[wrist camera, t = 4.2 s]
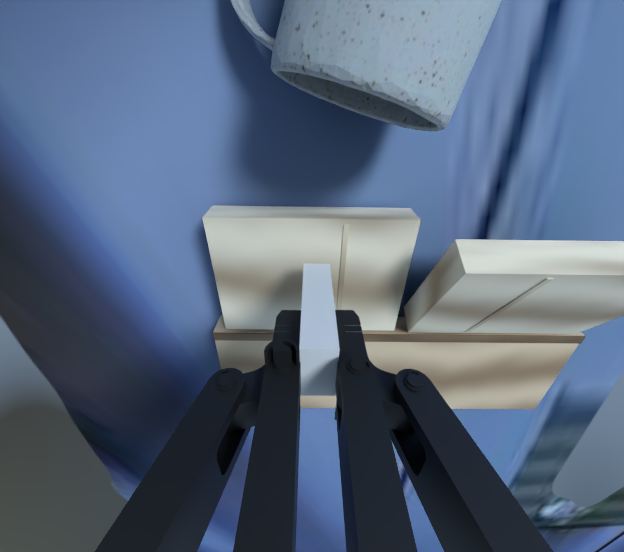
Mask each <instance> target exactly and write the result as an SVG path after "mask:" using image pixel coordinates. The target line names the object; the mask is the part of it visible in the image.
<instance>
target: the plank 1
mask: <svg viewBox="0 0 624 552" xmlns="http://www.w3.org/2000/svg"><path fill="white" fill-rule="evenodd" d="M202 219H203V223H204V228H205V233H206V238H207V242H208V247H209V252H210V256H211V261H212V266H213V271H214V275H215V280H216V285H217V290H218V294H219V299H220V304H221V308H222V313H223V318H224V323H225V327H226V329H269V330H274V328H275V322H276V317H277V315H278V314H279V313H280V312H281V310H301V306H302V286H303V267H304V263H310V264H330V269H331V278H332V287H333V296H334V304H335V310H354V311H355V313H356V314H357V315H358V316H359V319H360V323H361V328H362V330H380V331H394V329H395V325H396V321H397V317H398V313H399V309H400V304H401V300H402V296H403V292H404V288H405V284H406V280H407V275H408V271H409V267H410V263H411V259H412V255H413V251H414V246H415V242H416V238H417V234H418V230H419V226H420V222H421V220H420V219H419V217H418V216H417V215H416V214H415V213H414V212H413V210H412V209H411V208H364V207H289V206H212V207H211V208H210V209H209V210H208V211H207V212H206V214H205V215H204V216H203V217H202Z"/></svg>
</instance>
